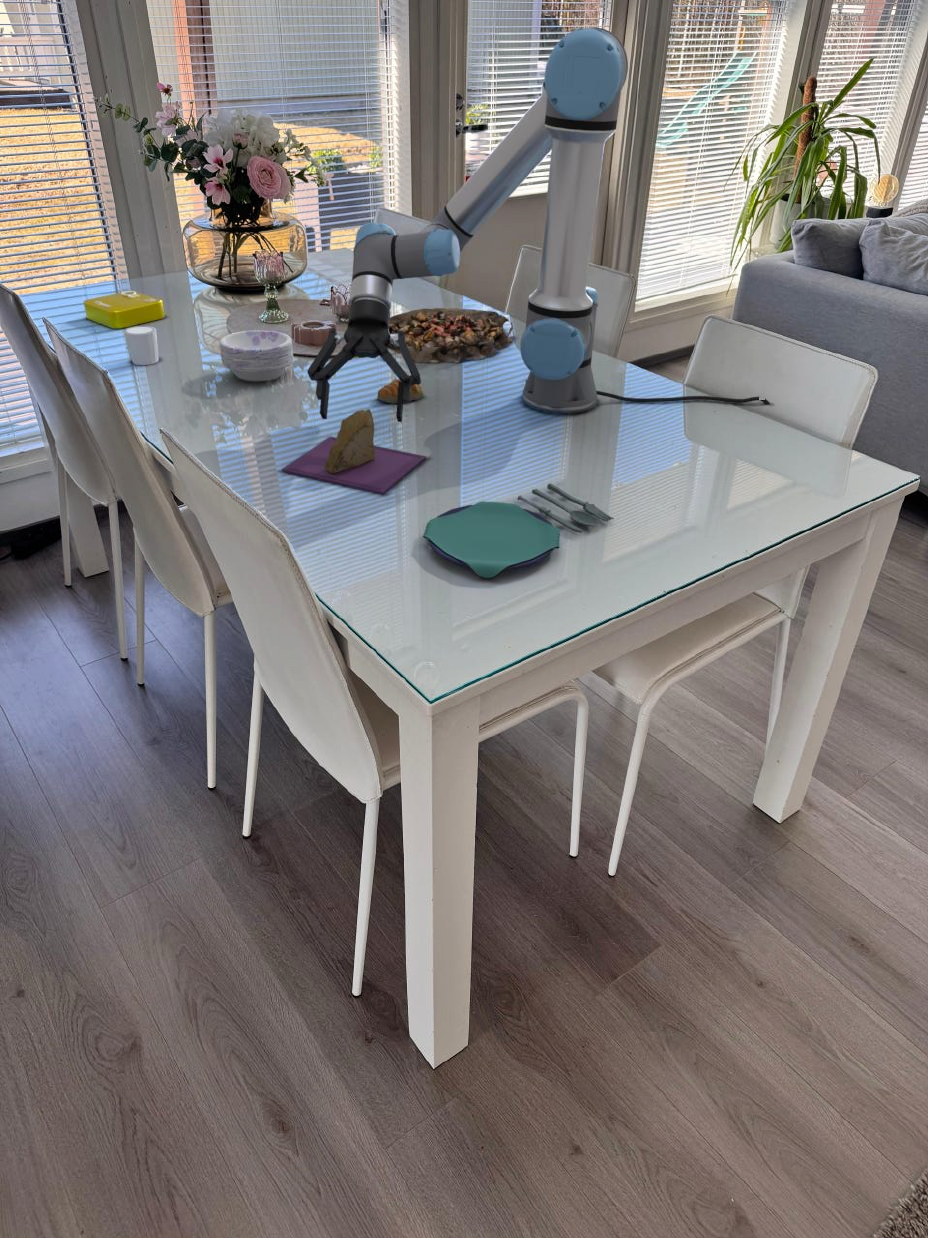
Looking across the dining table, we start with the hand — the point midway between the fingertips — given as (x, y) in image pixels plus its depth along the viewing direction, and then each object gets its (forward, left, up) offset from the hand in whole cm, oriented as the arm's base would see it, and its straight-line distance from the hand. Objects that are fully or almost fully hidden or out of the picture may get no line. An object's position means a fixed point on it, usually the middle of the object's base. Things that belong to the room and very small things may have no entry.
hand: (361, 417), depth 158 cm
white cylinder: (+68, -21, -7) cm, 72 cm away
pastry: (+6, -27, -7) cm, 29 cm away
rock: (-1, +6, -6) cm, 9 cm away
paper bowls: (+40, -25, -7) cm, 48 cm away
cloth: (-2, +6, -6) cm, 9 cm away
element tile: (+95, -45, -7) cm, 106 cm away
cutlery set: (-37, +17, -7) cm, 41 cm away
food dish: (+14, -66, -7) cm, 68 cm away
